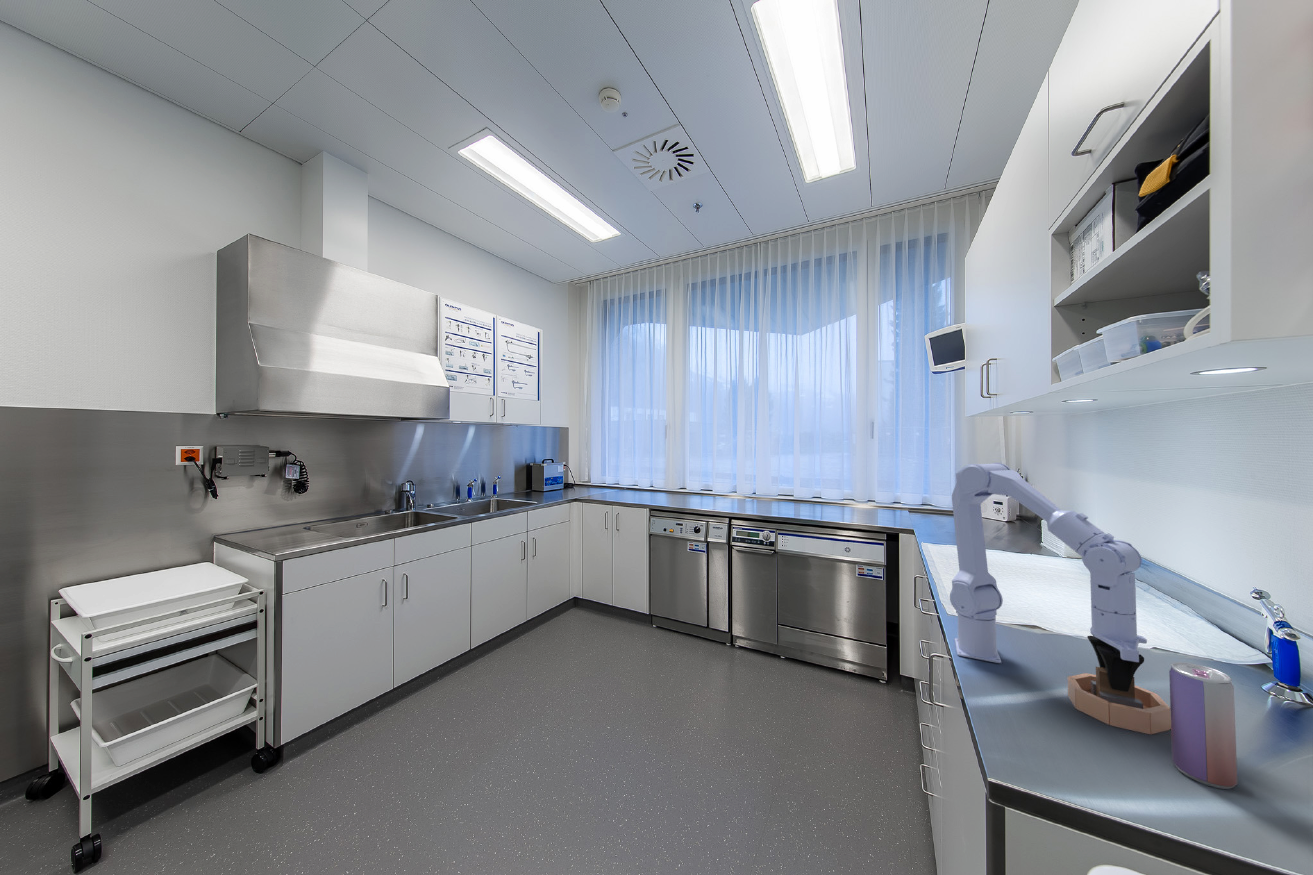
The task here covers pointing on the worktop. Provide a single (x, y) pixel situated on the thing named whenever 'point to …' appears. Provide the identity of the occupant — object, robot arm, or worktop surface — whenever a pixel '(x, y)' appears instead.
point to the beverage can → (1203, 724)
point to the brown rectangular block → (1105, 687)
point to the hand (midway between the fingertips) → (1115, 684)
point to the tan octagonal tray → (1120, 706)
